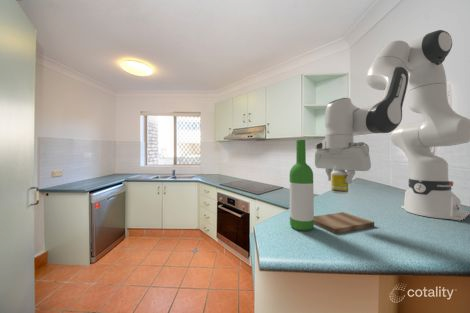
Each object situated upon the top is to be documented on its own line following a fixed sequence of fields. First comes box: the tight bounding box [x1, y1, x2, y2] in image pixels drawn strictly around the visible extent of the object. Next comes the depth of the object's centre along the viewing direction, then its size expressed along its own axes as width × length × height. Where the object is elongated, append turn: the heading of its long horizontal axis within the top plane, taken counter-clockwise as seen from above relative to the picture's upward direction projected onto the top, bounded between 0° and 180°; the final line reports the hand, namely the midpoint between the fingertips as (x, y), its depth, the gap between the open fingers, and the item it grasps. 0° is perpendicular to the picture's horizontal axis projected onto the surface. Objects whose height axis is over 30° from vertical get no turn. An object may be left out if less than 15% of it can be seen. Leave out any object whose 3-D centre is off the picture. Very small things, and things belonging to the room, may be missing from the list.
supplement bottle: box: [330, 166, 349, 195], centre depth 65 cm, size 5×5×10 cm
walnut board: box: [314, 211, 375, 235], centre depth 65 cm, size 18×12×2 cm, turn 109°
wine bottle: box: [289, 139, 315, 232], centre depth 62 cm, size 8×8×30 cm
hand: (339, 182), depth 65 cm, fingers closed on supplement bottle, 5 cm apart
